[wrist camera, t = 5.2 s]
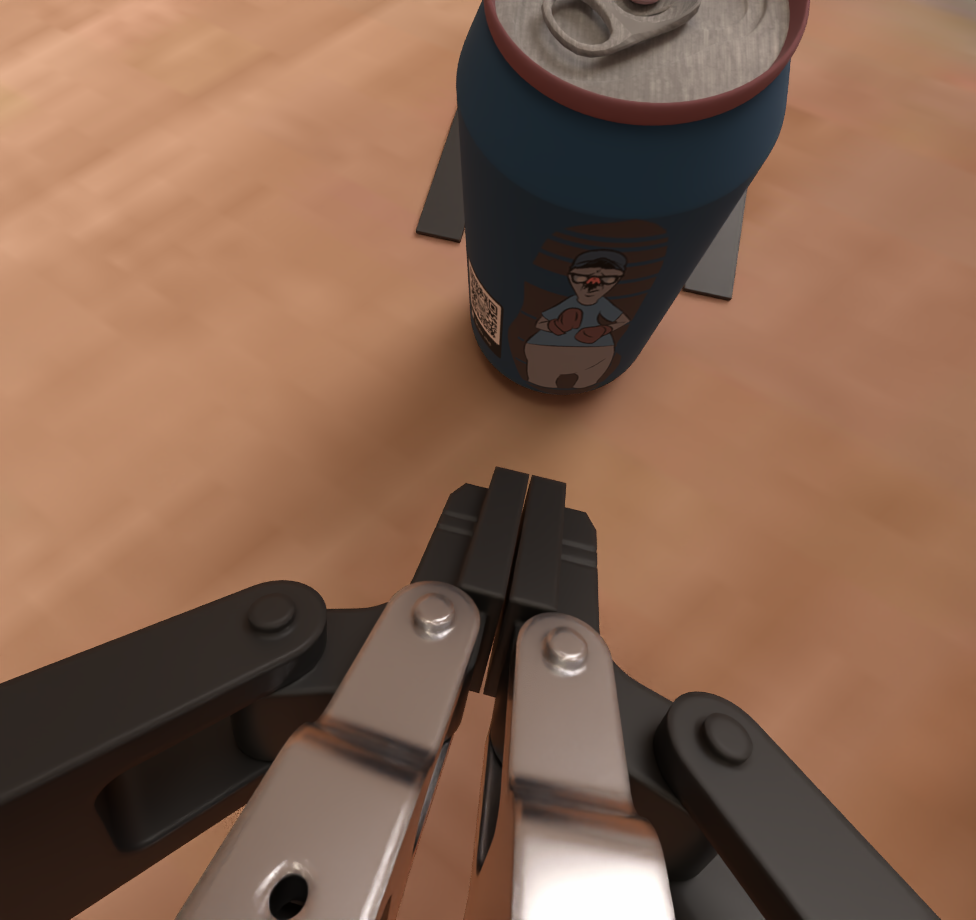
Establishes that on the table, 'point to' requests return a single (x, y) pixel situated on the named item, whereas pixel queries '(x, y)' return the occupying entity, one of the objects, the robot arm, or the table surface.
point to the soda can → (606, 166)
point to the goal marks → (449, 223)
